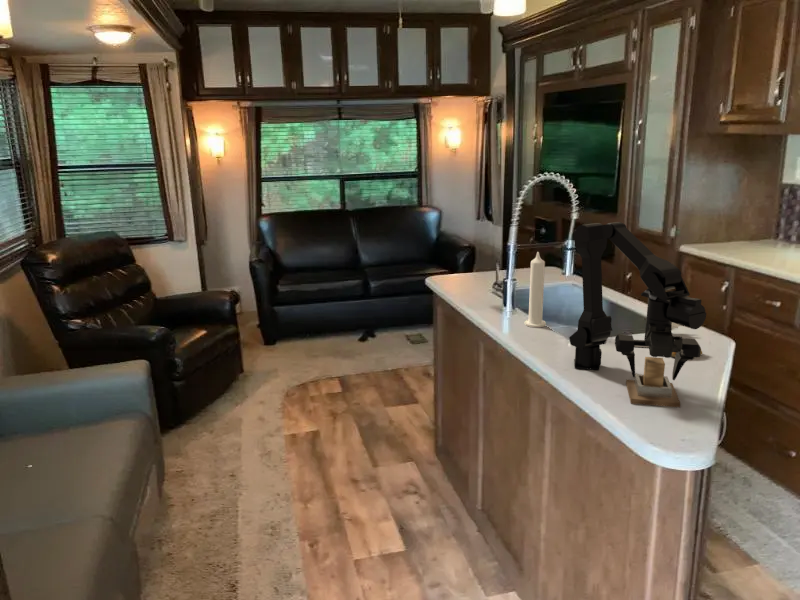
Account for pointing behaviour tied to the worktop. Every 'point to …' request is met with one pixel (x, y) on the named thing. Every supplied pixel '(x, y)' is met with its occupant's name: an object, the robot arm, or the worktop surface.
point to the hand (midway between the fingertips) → (653, 378)
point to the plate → (648, 400)
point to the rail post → (653, 371)
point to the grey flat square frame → (653, 388)
